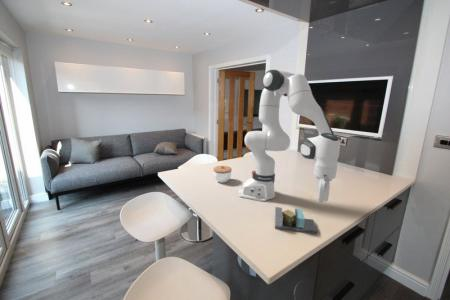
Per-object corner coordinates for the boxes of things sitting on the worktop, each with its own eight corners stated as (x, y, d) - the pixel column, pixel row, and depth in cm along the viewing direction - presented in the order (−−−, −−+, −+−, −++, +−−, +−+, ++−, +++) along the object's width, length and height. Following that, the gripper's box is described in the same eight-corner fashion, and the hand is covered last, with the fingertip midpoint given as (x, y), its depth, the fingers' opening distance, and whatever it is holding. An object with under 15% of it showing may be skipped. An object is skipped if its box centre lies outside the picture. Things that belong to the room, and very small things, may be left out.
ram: (296, 227, 97) (297, 218, 96) (294, 217, 105) (295, 208, 104) (303, 228, 97) (304, 219, 96) (301, 217, 105) (301, 209, 104)
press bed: (275, 228, 99) (276, 216, 98) (274, 217, 108) (275, 207, 106) (316, 233, 96) (318, 221, 95) (312, 222, 105) (314, 211, 103)
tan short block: (281, 220, 103) (282, 211, 102) (287, 218, 105) (288, 209, 104) (290, 225, 99) (290, 217, 98) (296, 223, 101) (297, 214, 100)
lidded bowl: (229, 185, 147) (229, 169, 144) (211, 183, 149) (211, 168, 146) (232, 178, 158) (233, 163, 156) (215, 176, 161) (215, 162, 158)
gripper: (335, 181, 83) (330, 214, 86) (331, 165, 101) (327, 192, 105) (317, 179, 85) (313, 210, 89) (316, 163, 103) (313, 190, 107)
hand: (320, 200), depth 97 cm, fingers closed
